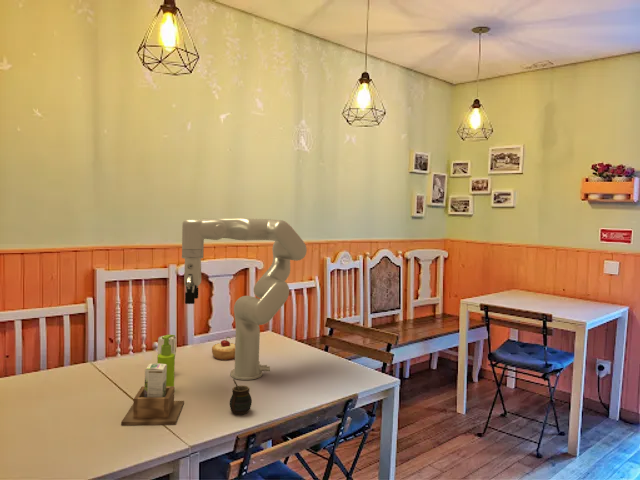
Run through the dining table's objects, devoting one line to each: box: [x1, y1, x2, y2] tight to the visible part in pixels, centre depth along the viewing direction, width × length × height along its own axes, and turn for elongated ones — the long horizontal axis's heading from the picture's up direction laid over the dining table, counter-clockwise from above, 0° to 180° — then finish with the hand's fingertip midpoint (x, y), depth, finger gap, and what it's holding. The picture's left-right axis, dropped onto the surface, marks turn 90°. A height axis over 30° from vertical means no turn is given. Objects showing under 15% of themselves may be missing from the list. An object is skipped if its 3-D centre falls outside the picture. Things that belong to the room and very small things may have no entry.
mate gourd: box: [229, 378, 252, 416], centre depth 162 cm, size 7×8×10 cm
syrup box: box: [143, 363, 167, 397], centre depth 158 cm, size 6×6×14 cm
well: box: [120, 385, 185, 426], centre depth 158 cm, size 16×16×7 cm
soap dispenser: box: [156, 334, 176, 387], centre depth 177 cm, size 6×7×20 cm
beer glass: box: [157, 335, 177, 376], centre depth 193 cm, size 7×7×15 cm
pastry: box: [211, 336, 235, 361], centre depth 219 cm, size 12×12×9 cm
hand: (191, 301), depth 179 cm, fingers open, 9 cm apart
